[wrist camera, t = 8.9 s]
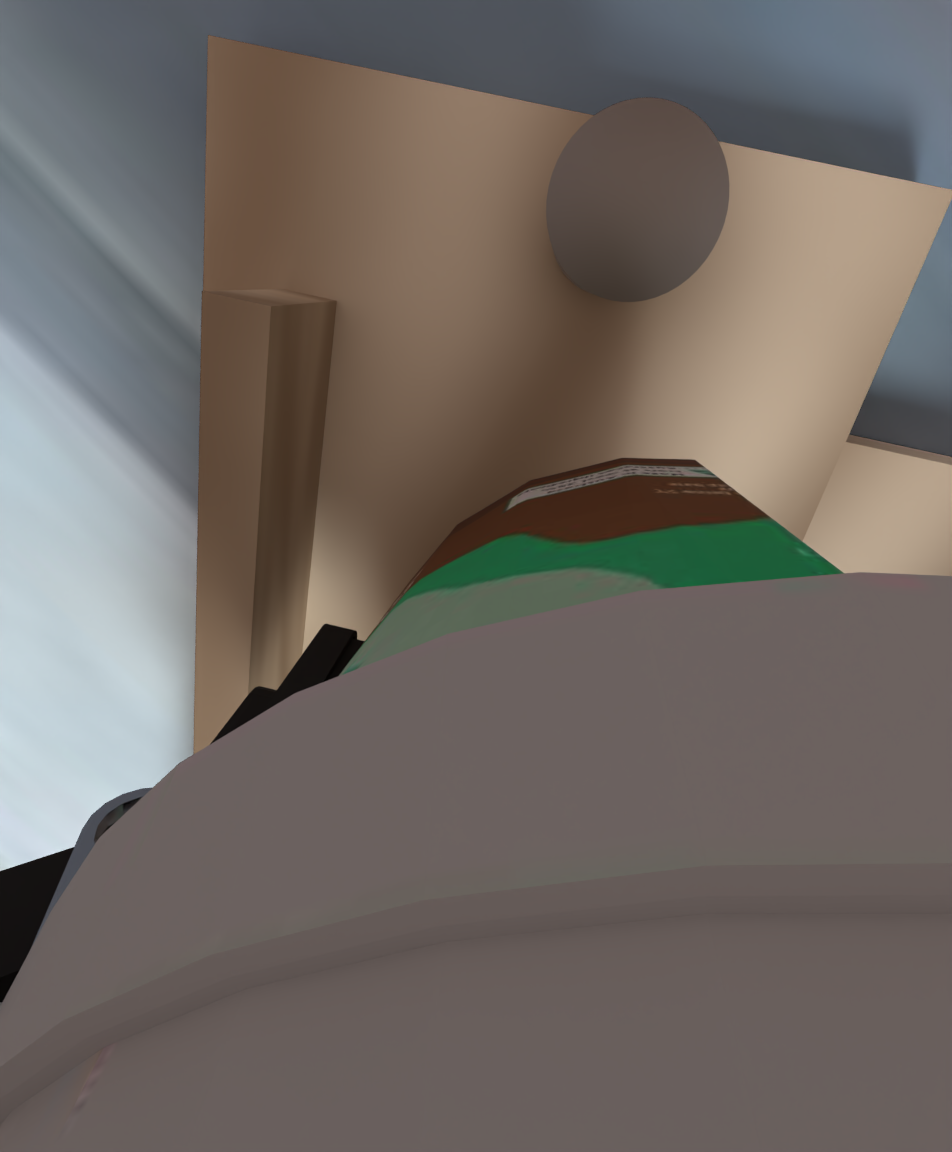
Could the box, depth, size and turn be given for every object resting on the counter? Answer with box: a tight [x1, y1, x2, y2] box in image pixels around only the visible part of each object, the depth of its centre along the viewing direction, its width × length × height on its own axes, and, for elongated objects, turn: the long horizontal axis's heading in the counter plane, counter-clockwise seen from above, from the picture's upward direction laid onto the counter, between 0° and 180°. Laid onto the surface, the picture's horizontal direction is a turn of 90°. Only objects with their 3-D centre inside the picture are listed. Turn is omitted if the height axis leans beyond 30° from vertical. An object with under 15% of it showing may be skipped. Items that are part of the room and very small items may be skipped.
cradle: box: [194, 35, 952, 754], centre depth 13 cm, size 21×19×5 cm
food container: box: [0, 458, 952, 1152], centre depth 8 cm, size 12×6×10 cm, turn 175°
